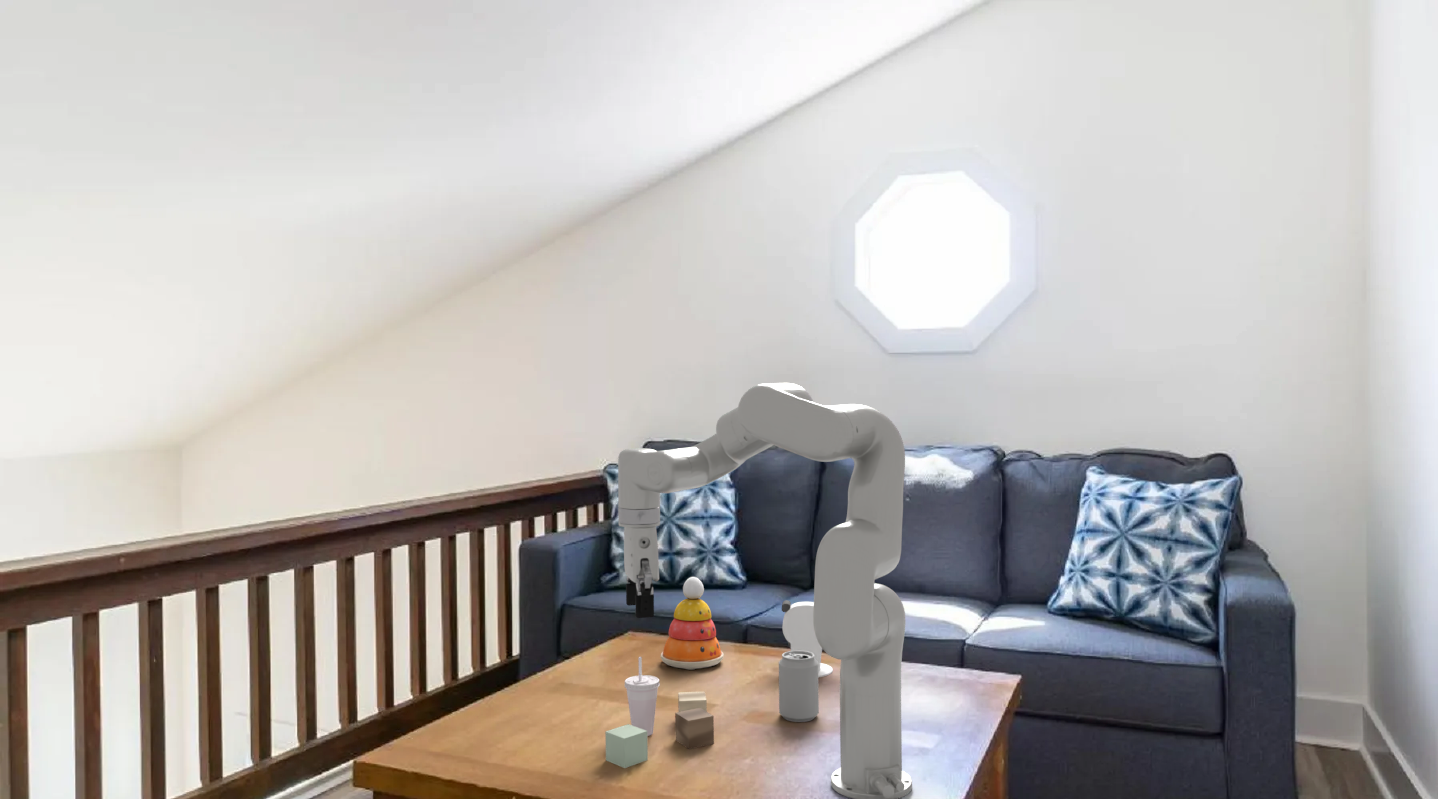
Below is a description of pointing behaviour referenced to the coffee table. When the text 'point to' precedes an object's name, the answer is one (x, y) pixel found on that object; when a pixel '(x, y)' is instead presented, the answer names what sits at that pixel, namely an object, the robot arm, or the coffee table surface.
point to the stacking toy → (692, 632)
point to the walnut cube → (694, 728)
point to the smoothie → (642, 699)
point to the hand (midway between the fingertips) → (639, 610)
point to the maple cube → (691, 701)
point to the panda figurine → (803, 632)
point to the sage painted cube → (626, 746)
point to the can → (798, 686)
